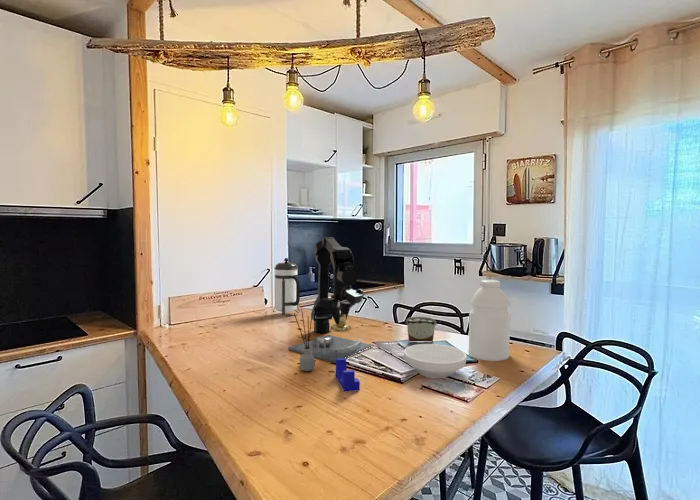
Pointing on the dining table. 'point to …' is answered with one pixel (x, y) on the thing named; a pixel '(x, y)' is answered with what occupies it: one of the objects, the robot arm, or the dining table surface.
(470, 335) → the bottle
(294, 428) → the dining table surface
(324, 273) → the robot arm
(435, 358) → the bowl
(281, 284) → the coffee press
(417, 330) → the food container
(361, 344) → the carrier plate
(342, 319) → the gear
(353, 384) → the blue u-shaped block
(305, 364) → the reed diffuser
